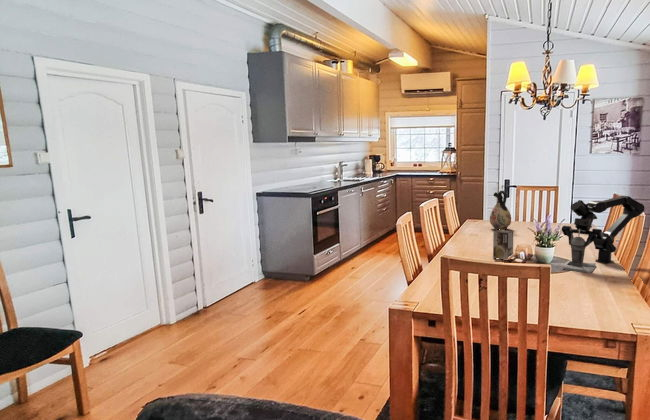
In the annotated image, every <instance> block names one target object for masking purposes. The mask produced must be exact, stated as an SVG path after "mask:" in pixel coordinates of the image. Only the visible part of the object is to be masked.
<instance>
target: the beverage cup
mask: <svg viewBox="0 0 650 420" xmlns="http://www.w3.org/2000/svg"><path fill="white" fill-rule="evenodd" d="M580 235H581V234H580V229H579V233H578V235H577V236H575V237H574V238H573V239H572V240H571V243H570V245H569V246H570V250H571V253H570V254H571V261H572V266H577V267H582V265H583V262H584V258H585V251H586V247H585V243H586V240H585V238H584V237H581V236H580Z"/></svg>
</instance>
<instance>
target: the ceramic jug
mask: <svg viewBox="0 0 650 420" xmlns="http://www.w3.org/2000/svg"><path fill="white" fill-rule="evenodd" d="M493 196H494V198H497V202H496V204H495V205H494V206H493V208H492V210H491V212H490V216H489V224H490V225H491V226H492V227H493V229H494V230H495V229H500V230H504V231H506V230H508V227H509V226H510V225H511V224H512V215H511V212H510V210H509V208H508V207H507V205H506V203H507V199H508V194H507V192H506V191H505V190H499V191H498V192H496V191H495V192H494V193H493ZM505 229H506V230H505Z"/></svg>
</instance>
